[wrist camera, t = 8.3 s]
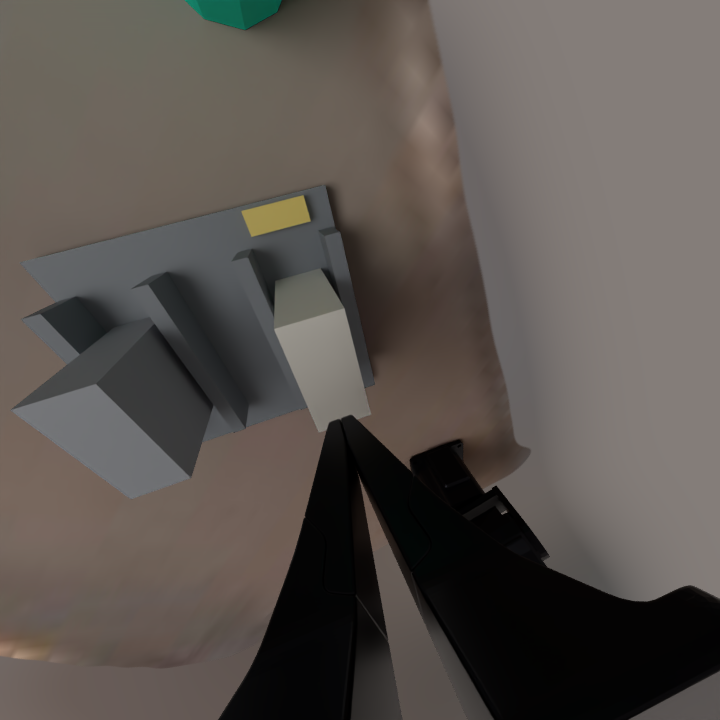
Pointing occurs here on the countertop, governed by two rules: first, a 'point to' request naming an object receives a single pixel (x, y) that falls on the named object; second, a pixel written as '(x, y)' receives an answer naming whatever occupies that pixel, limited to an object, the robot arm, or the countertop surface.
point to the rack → (178, 336)
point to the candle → (235, 11)
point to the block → (319, 347)
